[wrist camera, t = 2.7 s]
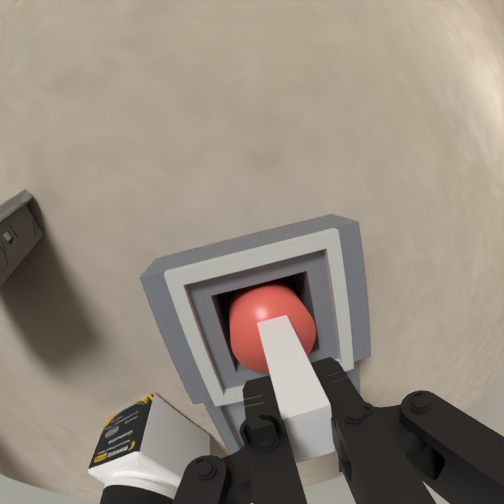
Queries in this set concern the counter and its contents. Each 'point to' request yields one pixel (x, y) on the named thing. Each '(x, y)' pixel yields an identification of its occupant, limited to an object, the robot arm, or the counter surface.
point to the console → (251, 273)
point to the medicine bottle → (146, 453)
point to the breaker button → (264, 308)
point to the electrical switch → (16, 233)
